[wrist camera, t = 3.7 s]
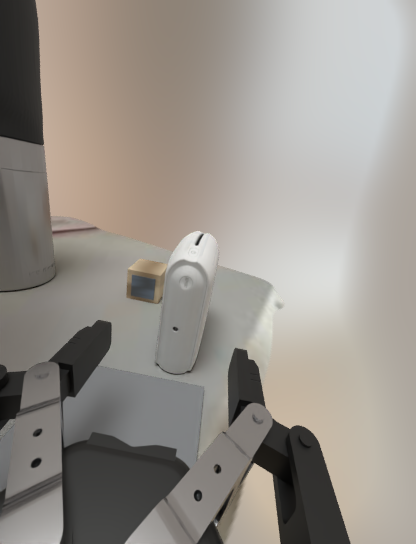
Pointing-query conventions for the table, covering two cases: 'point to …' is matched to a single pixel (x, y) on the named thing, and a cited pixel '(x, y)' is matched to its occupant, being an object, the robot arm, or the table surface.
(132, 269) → the wooden block
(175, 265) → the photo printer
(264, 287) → the table surface
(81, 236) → the table surface
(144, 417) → the felt pad
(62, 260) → the table surface
